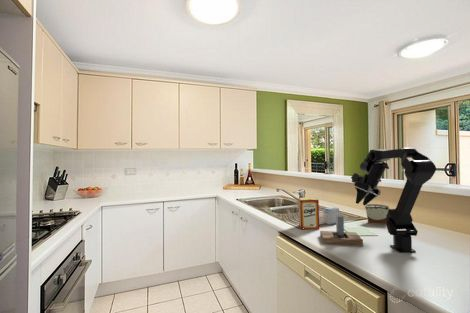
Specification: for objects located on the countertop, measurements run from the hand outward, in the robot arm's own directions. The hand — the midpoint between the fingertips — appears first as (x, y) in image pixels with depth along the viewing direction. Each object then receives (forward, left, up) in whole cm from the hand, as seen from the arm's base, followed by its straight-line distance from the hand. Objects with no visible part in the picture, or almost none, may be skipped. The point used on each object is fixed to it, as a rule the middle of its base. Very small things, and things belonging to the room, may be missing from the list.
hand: (360, 204), depth 112 cm
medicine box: (+21, +7, -15) cm, 27 cm away
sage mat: (+6, -1, -15) cm, 16 cm away
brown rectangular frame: (-7, +13, -15) cm, 21 cm away
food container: (+21, -18, -15) cm, 32 cm away
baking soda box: (+13, +22, -15) cm, 30 cm away
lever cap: (-7, +13, -15) cm, 21 cm away
